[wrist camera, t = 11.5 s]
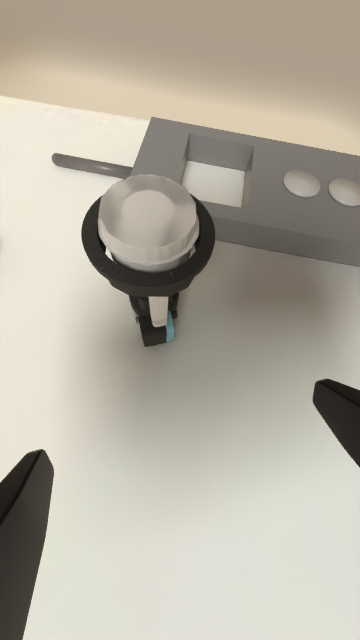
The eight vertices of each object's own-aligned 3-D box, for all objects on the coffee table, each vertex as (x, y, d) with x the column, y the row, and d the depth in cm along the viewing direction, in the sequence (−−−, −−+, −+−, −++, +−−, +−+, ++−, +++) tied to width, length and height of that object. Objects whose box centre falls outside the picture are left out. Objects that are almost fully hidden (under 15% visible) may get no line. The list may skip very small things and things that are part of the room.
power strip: (356, 182, 25) (380, 154, 22) (370, 268, 21) (402, 246, 18) (74, 129, 25) (62, 93, 22) (31, 204, 21) (11, 172, 18)
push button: (113, 276, 19) (65, 142, 10) (178, 266, 20) (192, 133, 10) (125, 356, 17) (78, 283, 7) (198, 341, 17) (240, 258, 8)
